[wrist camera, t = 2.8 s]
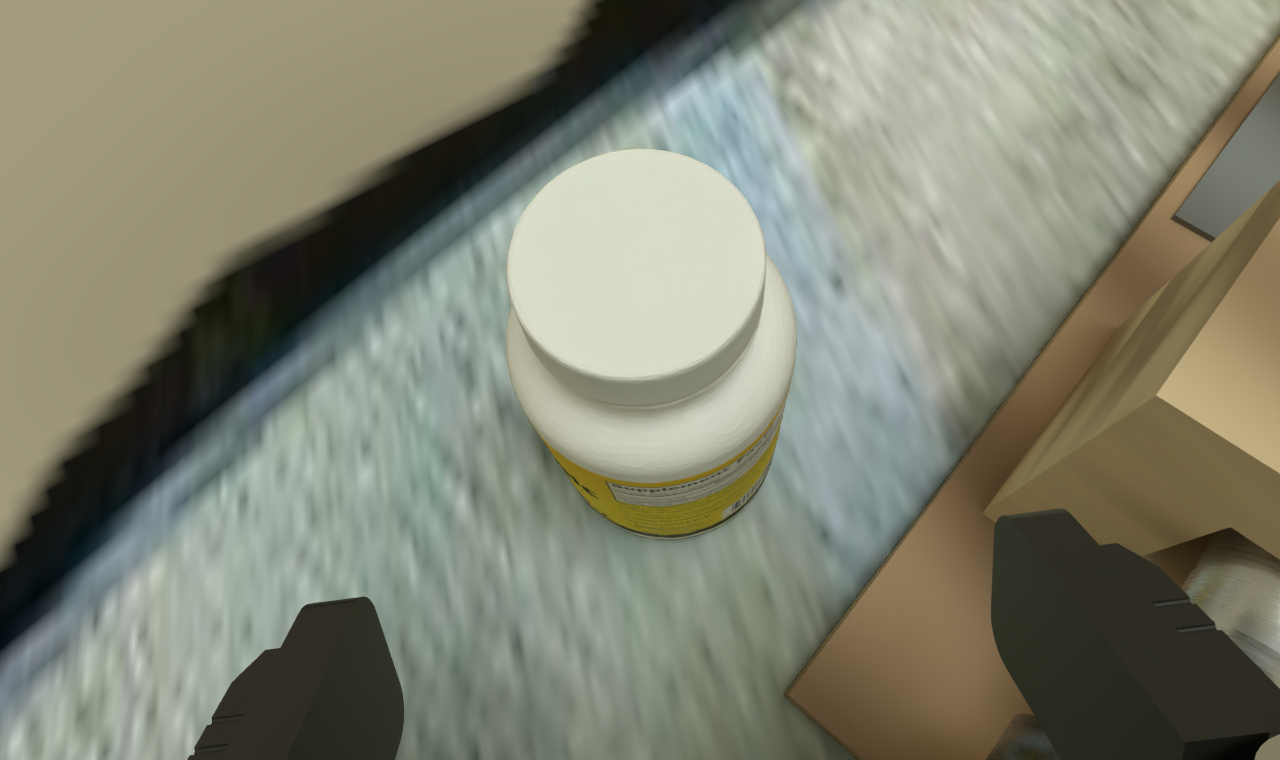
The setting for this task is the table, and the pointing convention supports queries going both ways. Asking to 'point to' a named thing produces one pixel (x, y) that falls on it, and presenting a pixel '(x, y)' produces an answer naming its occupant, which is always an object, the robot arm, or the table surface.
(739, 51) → the table surface
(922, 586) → the shaft bench
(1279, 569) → the shaft
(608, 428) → the supplement bottle
